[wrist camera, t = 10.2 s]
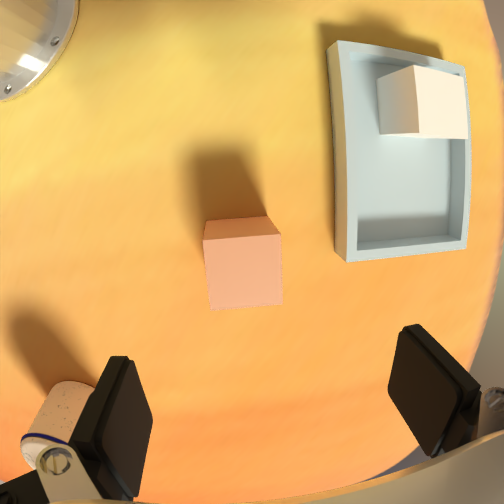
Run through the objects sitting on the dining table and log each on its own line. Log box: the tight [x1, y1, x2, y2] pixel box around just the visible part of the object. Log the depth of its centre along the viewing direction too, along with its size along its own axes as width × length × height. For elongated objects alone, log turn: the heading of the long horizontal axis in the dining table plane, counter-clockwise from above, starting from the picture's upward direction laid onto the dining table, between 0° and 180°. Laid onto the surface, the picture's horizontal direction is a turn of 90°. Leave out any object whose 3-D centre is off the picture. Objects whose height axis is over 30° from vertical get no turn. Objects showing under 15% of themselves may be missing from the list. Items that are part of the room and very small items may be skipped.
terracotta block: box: [202, 216, 283, 311], centre depth 22 cm, size 4×4×6 cm
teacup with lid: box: [20, 381, 95, 470], centre depth 23 cm, size 12×9×12 cm
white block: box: [376, 65, 468, 139], centre depth 19 cm, size 4×4×6 cm
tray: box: [326, 40, 471, 262], centre depth 22 cm, size 16×12×3 cm
